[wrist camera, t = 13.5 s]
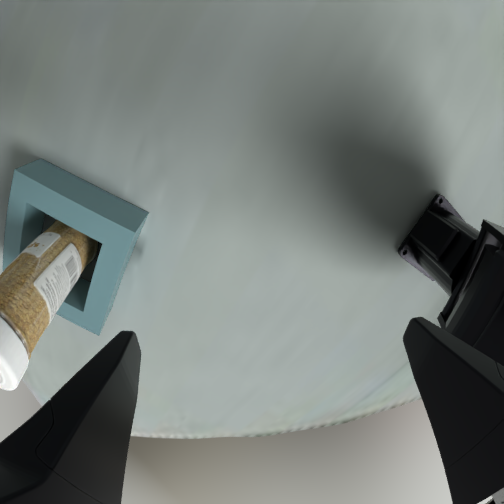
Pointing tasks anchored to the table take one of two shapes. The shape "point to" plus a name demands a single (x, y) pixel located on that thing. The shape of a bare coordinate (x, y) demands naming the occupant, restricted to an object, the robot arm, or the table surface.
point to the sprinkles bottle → (37, 293)
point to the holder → (83, 220)
